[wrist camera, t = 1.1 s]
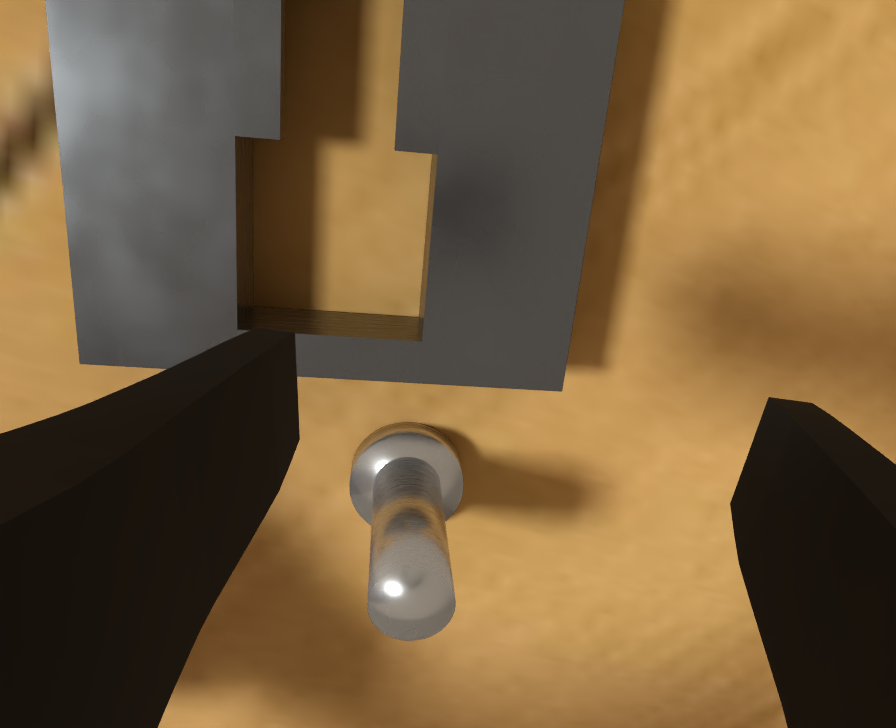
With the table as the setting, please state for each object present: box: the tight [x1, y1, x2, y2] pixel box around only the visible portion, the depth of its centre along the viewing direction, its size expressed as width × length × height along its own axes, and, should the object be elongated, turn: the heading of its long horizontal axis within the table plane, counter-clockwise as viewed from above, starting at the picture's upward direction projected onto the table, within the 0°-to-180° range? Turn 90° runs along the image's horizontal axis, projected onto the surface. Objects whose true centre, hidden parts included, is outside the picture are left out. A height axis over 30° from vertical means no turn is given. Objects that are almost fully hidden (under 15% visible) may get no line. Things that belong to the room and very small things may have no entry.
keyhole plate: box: [45, 0, 625, 391], centre depth 22 cm, size 16×16×3 cm
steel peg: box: [350, 422, 464, 641], centre depth 24 cm, size 4×4×8 cm
